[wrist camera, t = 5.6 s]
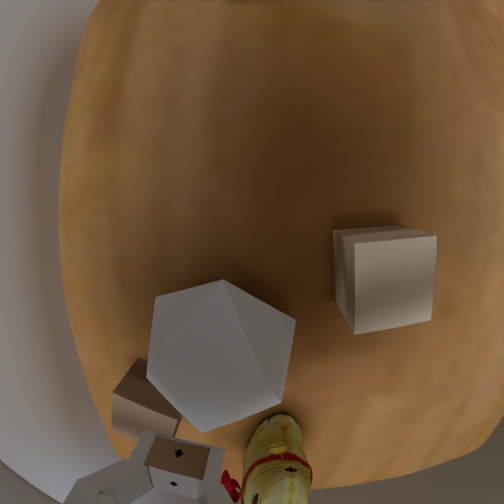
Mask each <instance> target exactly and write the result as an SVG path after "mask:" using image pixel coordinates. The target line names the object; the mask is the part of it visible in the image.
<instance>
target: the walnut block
mask: <svg viewBox="0 0 504 504" xmlns="http://www.w3.org/2000/svg"><path fill="white" fill-rule="evenodd" d="M147 363H148V362H145V361H143V360H141V359H139V358H138V359H137V360H136V361H135V363H134V364H133V365H132V367H131V368H130V369H129V371H128V372H127V373H126V375H125V376H124V377H123V379H122V380H121V381H120V383H119V384H118V386H117V387H116V388H115V390H114V391H113V393H112V430H113V431H115V432H117V433H119V434H121V435H123V436H126V437H128V438H130V439H132V440H134V441H137V442H138V440H139V438H140V436H141V434H142V432H143V431H144V430H145V429H147V430H151V431H154V432H157V433H160V434H163V435H167V436H170V437H175V434H176V432H177V429H178V426H179V424H180V421H181V419H182V416H183V415H182V414H181V413H180V412H179V411H178V410H177V409H176V408H175V407H174V406H173V405H172V404H171V403H170V402H169V401H168V400H167V399H166V398H165V397H164V396H163V395H162V394H161V393H160V392H159V391H158V390H157V389H156V387H155V386H154V385H153V384H152V383H151V382H150V381H149V380H148V379H147V377H146V375H147Z"/></svg>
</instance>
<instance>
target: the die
mask: <svg viewBox="0 0 504 504" xmlns="http://www.w3.org/2000/svg"><path fill="white" fill-rule="evenodd" d="M295 324H296V320H295V319H293V318H292V317H290V316H288V315H286V314H284V313H282V312H281V311H279V310H277V309H275V308H273V307H271V306H270V305H268V304H266V303H264V302H262V301H261V300H259V299H257V298H255V297H254V296H252V295H250V294H248V293H246V292H245V291H243V290H241V289H239V288H238V287H236V286H234V285H232V284H231V283H229V282H227V281H225V280H224V279H223V280H219V281H215V282H211V283H208V284H204V285H200V286H196V287H192V288H188V289H184V290H180V291H176V292H173V293H169V294H165V295H161V296H157V297H156V298H155V305H154V312H153V319H152V327H151V335H150V344H149V353H148V363H147V375H146V377H147V379H148V380H149V381H150V382H151V383H152V384H153V385H154V386H155V387H156V389H157V390H158V391H159V392H160V393H161V394H162V395H163V396H164V397H165V398H166V399H167V400H168V401H169V402H170V403H171V404H172V405H173V406H174V407H175V408H176V409H177V410H178V411H179V412H180V413H181V414H182V415H183V416H184V417H185V418H186V419H187V420H188V421H189V422H190V423H191V424H192V425H193V426H194V427H196V428H197V429H198V430H199V431H200V432H201V433H204V432H207V431H210V430H213V429H216V428H219V427H221V426H224V425H227V424H230V423H233V422H235V421H238V420H241V419H243V418H246V417H248V416H251V415H253V414H256V413H258V412H261V411H263V410H265V409H268V408H270V407H272V406H275V405H277V404H279V403H281V402H282V397H283V392H284V387H285V382H286V377H287V371H288V366H289V360H290V354H291V349H292V343H293V337H294V330H295Z"/></svg>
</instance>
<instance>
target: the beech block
mask: <svg viewBox="0 0 504 504" xmlns="http://www.w3.org/2000/svg"><path fill="white" fill-rule="evenodd" d="M333 244H334V265H335V302H336V304H337V305H338V307H339V309H340V311H341V312H342V314H343V316H344V318H345V319H346V321H347V323H348V325H349V326H350V328H351V330H352V332H353V333H354V335H356V334H362V333H368V332H374V331H380V330H385V329H391V328H396V327H401V326H406V325H411V324H415V323H420V322H424V321H429V320H431V314H432V306H433V297H434V286H435V273H436V252H437V236H436V235H433V234H430V233H426V232H423V231H420V230H416V229H413V228H409V227H406V226H402V225H392V226H380V227H368V228H356V229H345V230H333Z"/></svg>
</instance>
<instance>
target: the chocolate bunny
mask: <svg viewBox="0 0 504 504" xmlns="http://www.w3.org/2000/svg"><path fill="white" fill-rule="evenodd" d="M302 436H303V433H302V431H301V428H300V426H299V424H298V423H297V422H296V421H295V420H294V419H293V418H292V417H290V416H289V415H283V414H277V415H275V416H273V417H271V418H268V419H266V420H264V421H263V422H262V423H261V424H260V426H259V427H258V428H257V429H256V431H255V433H254V435H253V437H252V439H251V441H250V443H249V445H248V447H247V449H246V452H245V455H244V458H243V461H242V463H243V477H242V492H241V493H238V492H237V491H236V489H235V488H239V489H240V491H241V488H240V486H239V484H238V482H237V481H236V480H234V479H230V476H229V473H228V471H227V470H225V471H224V472H223V474H222V478H221V484H223V485H224V487H225V489H226V490H227V492H228V494H229V495H230V497H231V499H232V500H233V502H234V504H235V503H237V502H238V500H239V499H240V497H241V503H242V504H308V502H309V497H310V490H311V484H312V469H311V467H310V465H309V464H308V461H307V458H306V456H305V454H304V451H303V445H302ZM242 498H243V499H242Z"/></svg>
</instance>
